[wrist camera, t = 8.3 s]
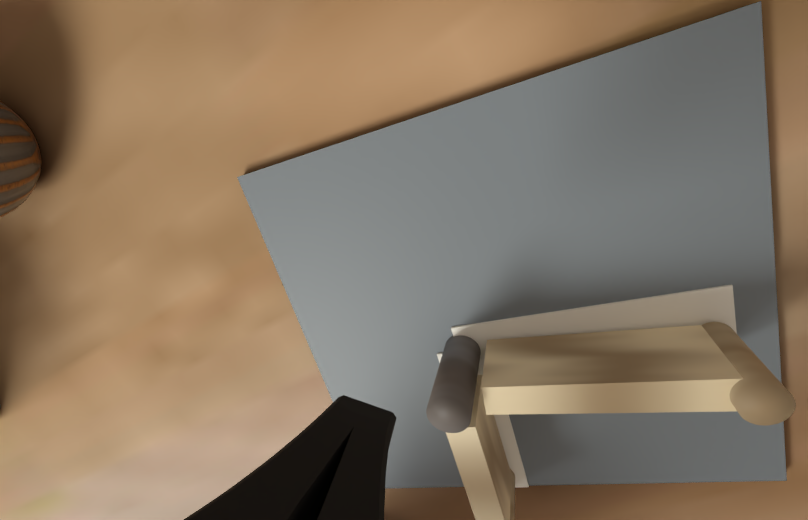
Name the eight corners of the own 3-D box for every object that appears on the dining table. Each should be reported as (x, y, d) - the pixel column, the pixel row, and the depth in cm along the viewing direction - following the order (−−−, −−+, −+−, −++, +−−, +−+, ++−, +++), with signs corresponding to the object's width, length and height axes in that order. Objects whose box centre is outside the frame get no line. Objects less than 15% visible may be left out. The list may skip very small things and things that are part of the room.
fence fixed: (519, 477, 21) (520, 572, 17) (488, 478, 21) (481, 570, 17) (476, 326, 18) (464, 394, 14) (442, 332, 19) (420, 398, 15)
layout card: (781, 472, 17) (788, 482, 17) (372, 482, 24) (369, 490, 23) (754, 3, 12) (762, 0, 12) (242, 175, 19) (235, 177, 18)
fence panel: (492, 365, 18) (486, 426, 15) (486, 337, 18) (479, 394, 14) (735, 353, 15) (794, 425, 12) (735, 320, 15) (797, 385, 12)
